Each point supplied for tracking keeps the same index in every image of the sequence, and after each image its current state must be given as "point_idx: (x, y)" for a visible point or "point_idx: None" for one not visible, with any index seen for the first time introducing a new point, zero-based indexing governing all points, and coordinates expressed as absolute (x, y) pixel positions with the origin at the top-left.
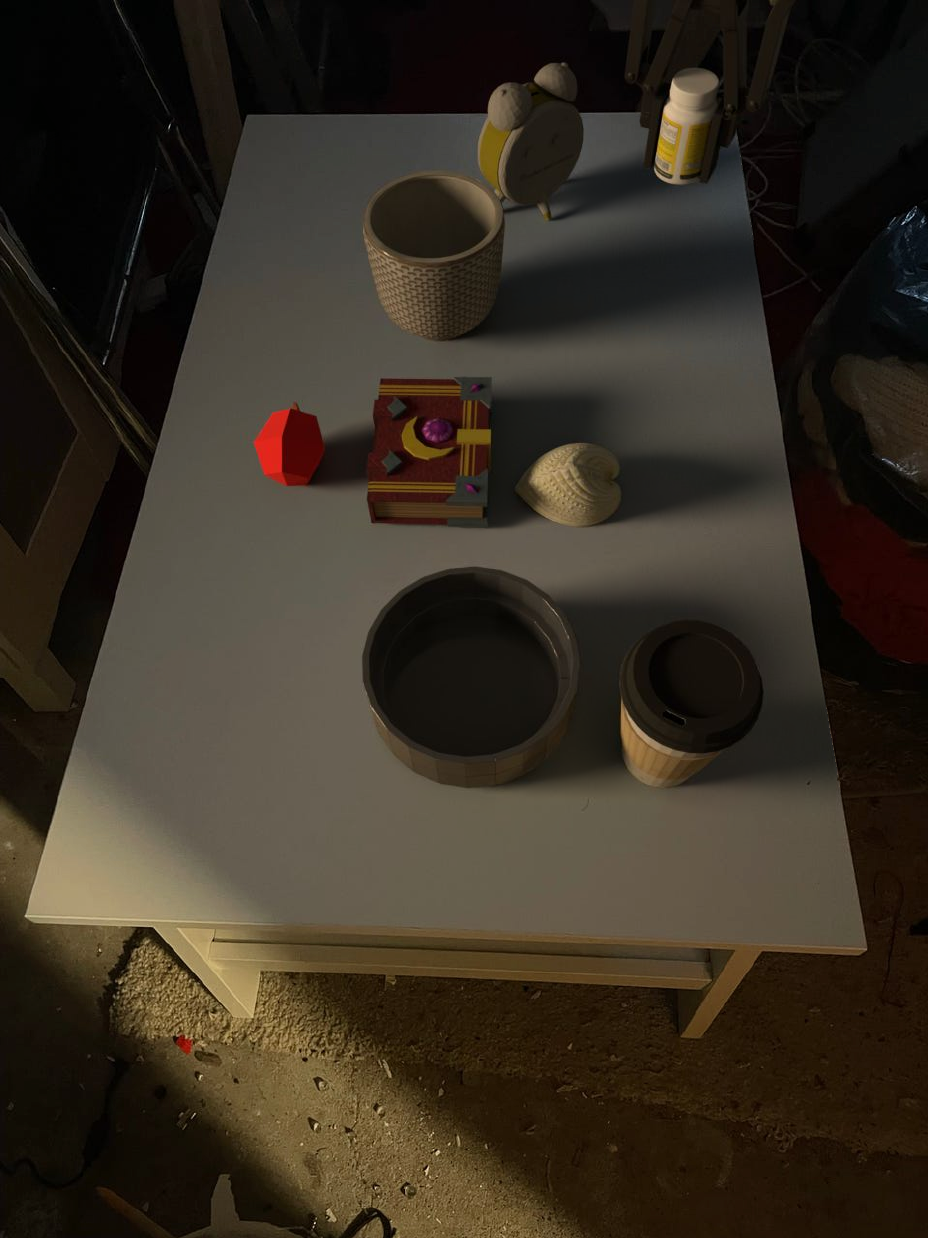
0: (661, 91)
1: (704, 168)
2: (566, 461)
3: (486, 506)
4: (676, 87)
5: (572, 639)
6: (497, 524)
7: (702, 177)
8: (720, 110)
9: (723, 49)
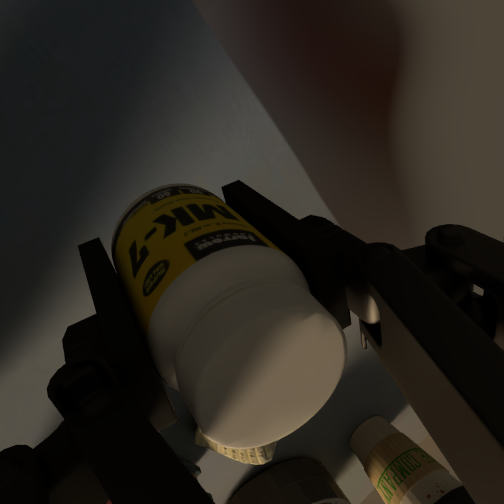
0: (143, 397)
1: None
2: (257, 459)
3: (210, 494)
4: (245, 448)
5: (337, 500)
6: (200, 455)
7: None
8: (338, 314)
9: (470, 493)
